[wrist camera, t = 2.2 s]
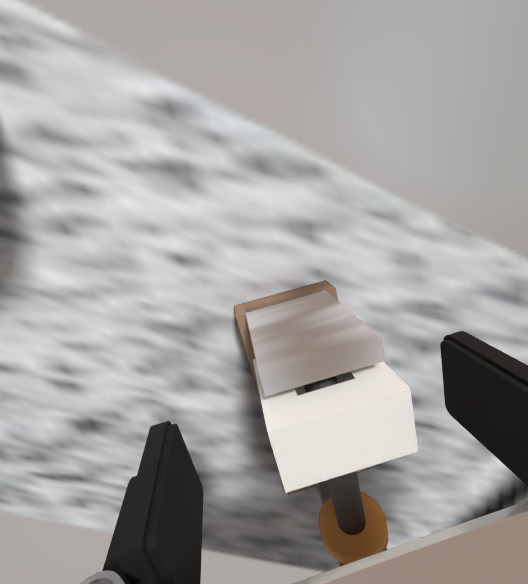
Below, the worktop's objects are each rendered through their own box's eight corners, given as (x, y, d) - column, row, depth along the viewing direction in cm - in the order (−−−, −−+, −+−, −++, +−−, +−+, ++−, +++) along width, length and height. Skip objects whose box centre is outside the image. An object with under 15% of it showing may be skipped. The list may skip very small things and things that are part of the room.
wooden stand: (325, 280, 17) (402, 338, 10) (359, 450, 20) (434, 585, 13) (234, 306, 17) (244, 385, 10) (283, 473, 20) (318, 624, 13)
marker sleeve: (352, 330, 14) (410, 388, 10) (360, 378, 14) (418, 451, 10) (252, 359, 14) (267, 431, 9) (266, 406, 14) (285, 493, 10)
